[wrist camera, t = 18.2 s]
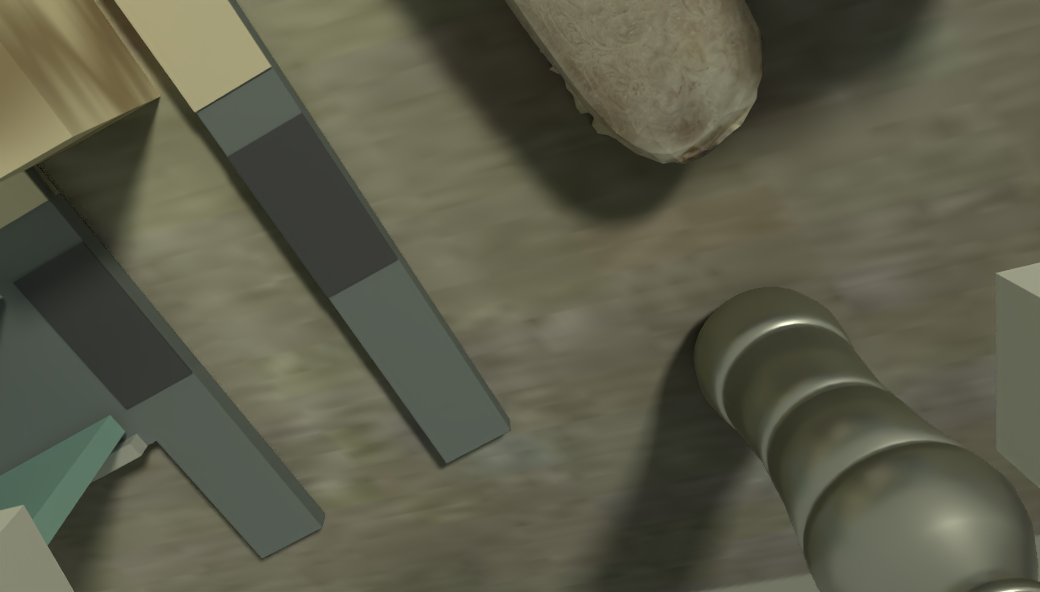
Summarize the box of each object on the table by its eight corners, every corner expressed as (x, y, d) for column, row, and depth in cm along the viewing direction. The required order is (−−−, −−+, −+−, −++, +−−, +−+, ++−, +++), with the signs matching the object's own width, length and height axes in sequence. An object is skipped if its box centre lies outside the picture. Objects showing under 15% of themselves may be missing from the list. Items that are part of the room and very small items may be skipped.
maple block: (160, 96, 31) (72, 136, 24) (66, 150, 32) (-49, 205, 24) (84, -13, 29) (-36, -6, 22) (-14, 46, 30) (-164, 72, 23)
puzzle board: (509, 419, 38) (512, 439, 37) (65, 648, 41) (49, 677, 40) (142, -142, 28) (124, -148, 26) (-413, 218, 31) (-461, 233, 29)
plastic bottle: (825, 374, 39) (1167, 741, 20) (692, 410, 39) (913, 808, 21) (811, 255, 36) (1187, 554, 18) (668, 295, 36) (897, 631, 18)
